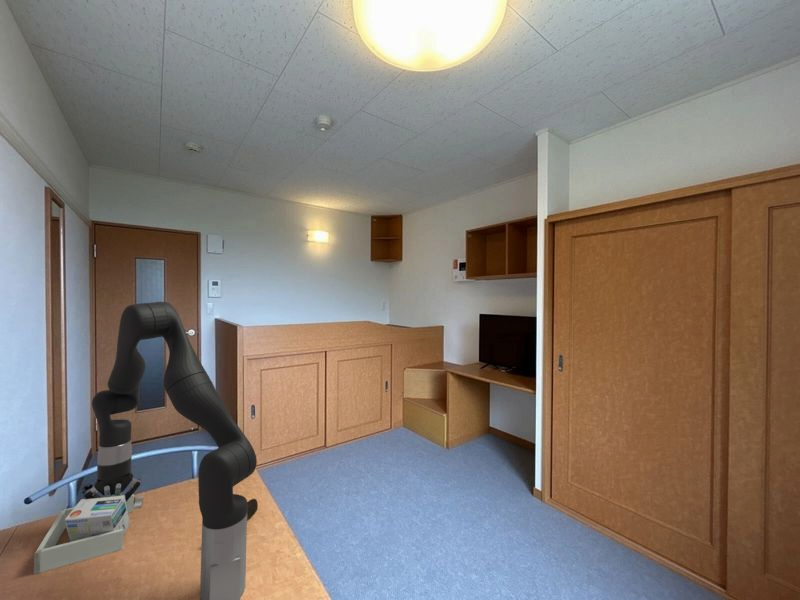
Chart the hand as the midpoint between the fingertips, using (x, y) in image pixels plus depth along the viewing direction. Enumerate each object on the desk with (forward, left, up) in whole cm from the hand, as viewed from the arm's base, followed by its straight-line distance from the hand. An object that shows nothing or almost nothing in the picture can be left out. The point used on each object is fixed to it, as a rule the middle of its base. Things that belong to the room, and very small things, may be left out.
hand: (113, 518), depth 97 cm
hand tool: (-15, -30, -4) cm, 34 cm away
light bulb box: (-3, +2, -3) cm, 5 cm away
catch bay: (0, +4, -4) cm, 6 cm away
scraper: (+13, +2, -4) cm, 14 cm away
